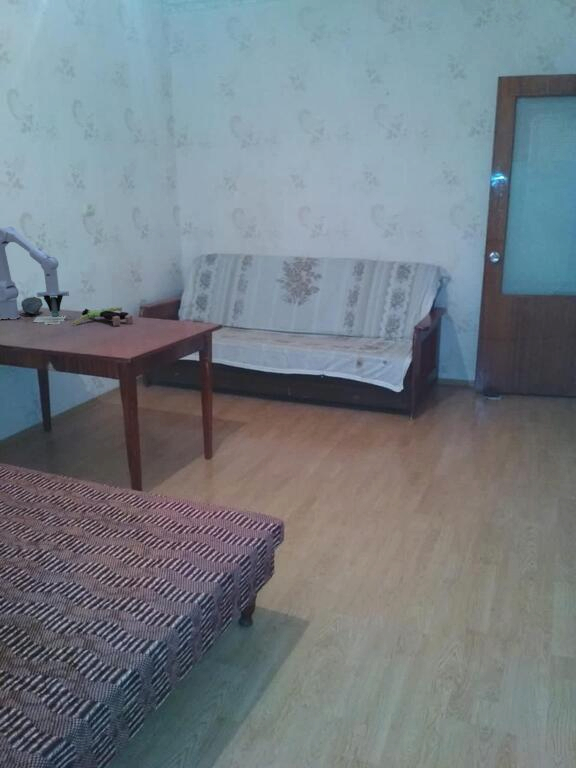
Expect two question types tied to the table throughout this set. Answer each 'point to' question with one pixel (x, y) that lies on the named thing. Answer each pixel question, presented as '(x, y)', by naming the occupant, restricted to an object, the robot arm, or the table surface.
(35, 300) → the rock
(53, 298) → the marker
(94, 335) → the table surface
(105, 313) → the toy
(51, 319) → the paper
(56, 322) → the plate
